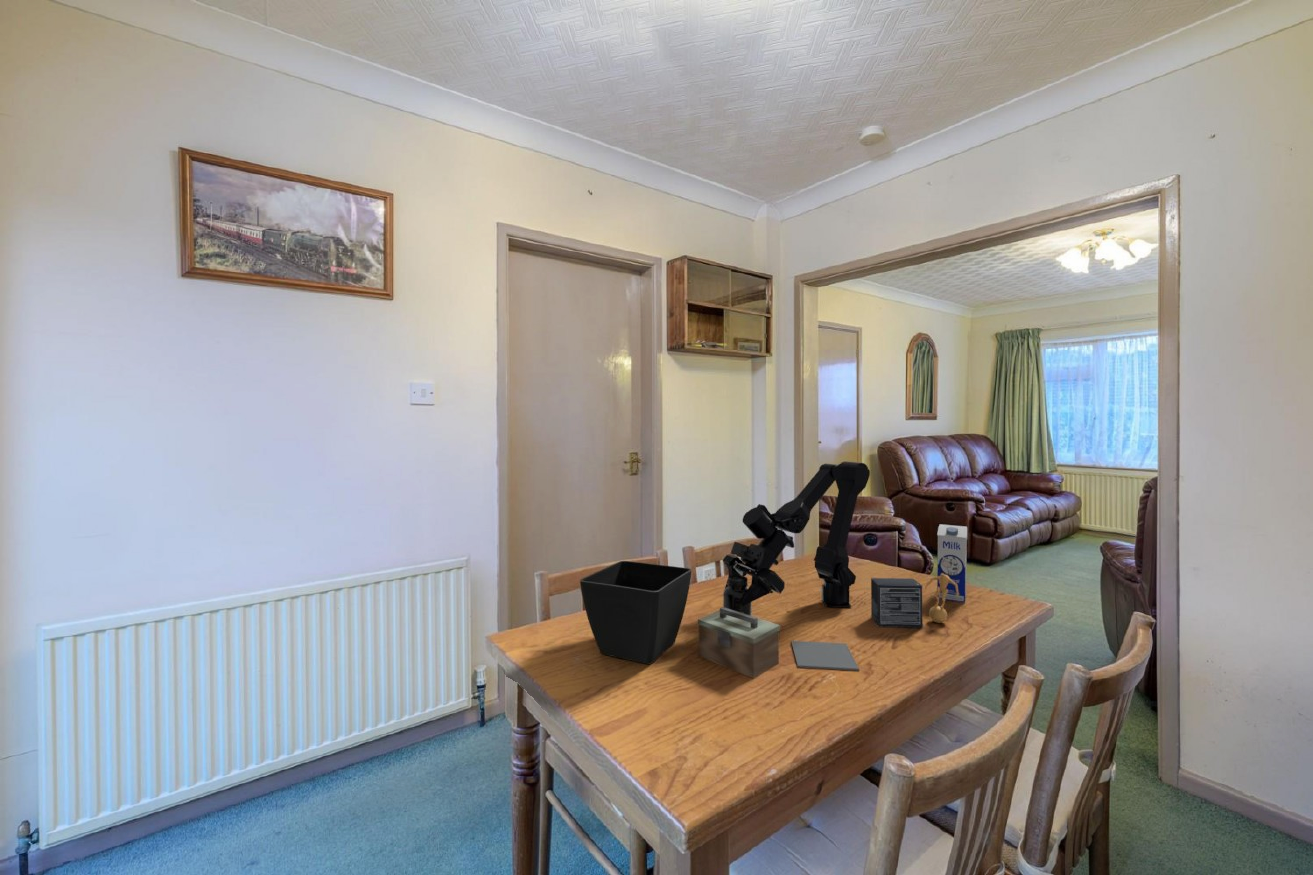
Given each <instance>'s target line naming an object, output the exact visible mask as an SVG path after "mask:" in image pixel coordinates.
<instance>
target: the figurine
mask: <svg viewBox="0 0 1313 875" xmlns="http://www.w3.org/2000/svg"><path fill="white" fill-rule="evenodd" d="M938 579H939V583H940V588H939V587H937V586H936V590H935V592H934V598H935V599H936V603H935V604H934V605H933V606H932V607H930V609H929V611H928V615H929V618H930V619H931V621H932V622H934V623H937V624H942V623H945V622H946V620H947V619H948V612H947V610H946V609H945V608H944V606H945V602H946V600H945V599H944V598H945V597H946V595H947V593H948V589H946V587H947V585H948V583H949V582H950V583H952V584H953V585H955V587H956V592H957V594H956V595H957V596H956V597H957V598H959V593H958V585H957V584H956V583H955V582H953V581H952V580H951V579H950V578H949V576H948V575H945V574H943V573H941V575H940V576H938V577H937V576H935V577H932V578H930V580H929V581H928V582H927V584H925V587H924V590H926V589H927V587H928V586H929V585H930V584H931V583H932V582H933V581H936V580H938ZM940 592H942V593H941V594H942V599H941V600H942V604H941V605H940V606H939V603H940V599H939V597H937V596H938V595H939V594H940Z"/></svg>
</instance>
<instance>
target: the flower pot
mask: <svg viewBox="0 0 1313 875" xmlns="http://www.w3.org/2000/svg"><path fill="white" fill-rule="evenodd" d="M691 578H692V569H691V568H690V567H679V566H673V565H663V564H657V563H646V562H640V561H629V560H621V561H618V562H615V563H613V564H612V565H609V566H606V567H604V568H602V569H600V570H597V571H596V572H593V573H591V574H589V575H587V576H584V577H583V578H581V579H579V584H580V590H581V596H582V600H583V605H584V609H585V613H586V618H587V620H588V624H589V627H590V630H591V633H592V635H593V637H594V640H595V643H596V646H597V648H598V650H599V653H600V654H602V655H606V656H610V657H615V658H619V659H624V660H628V661H634V662H638V663H642V664H643V663H644V664H649V665H650V664H652V663H654V662H655V661H657V659H658V658H660V657H661V655H663V654H664V653H665V652H666V651H668V649H670V647H672V646H673V645H674V644H675V642H676V640H677V637H678V634H679V630H680V627H681V624H682V620H683V617H684V614H685V609H686V605H687V601H688V595H689V591H690V585H691Z"/></svg>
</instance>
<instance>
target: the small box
mask: <svg viewBox="0 0 1313 875" xmlns="http://www.w3.org/2000/svg"><path fill="white" fill-rule="evenodd" d="M870 584H871V585H870V588H871V590H870V591H871V592H870V602H871V605H870V608H871V610H870V611H871V612H870V613H871V615H870V618H871V620H872V621H873V622H874V623H875V624H876V626H877V627H878V628H917V629H922V628H924V624H923V585H922V584H921V583H919V582H918V581H917V580H916V579H914V578H905V577H904V578H900V577H899V578H897V577H895V578H894V577H893V578H892V577H891V578H889V577H888V578H887V577H884V578H883V577H871V578H870Z"/></svg>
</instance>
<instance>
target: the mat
mask: <svg viewBox="0 0 1313 875" xmlns="http://www.w3.org/2000/svg"><path fill="white" fill-rule="evenodd" d="M790 642H791V643H790V644H791V647H792V650H793V655H794V658H795V661H796V662H795V663H796V666H797V668H806V669H819V670H820V669H822V670H824V669H825V670H840V671H860V667H859V665H858V664H857V662H856V660H855V658H854V656H853V654H852V652H851V650H850V649H849V646H848V645H847V643H843V642H824V641H822V642H821V641H806V640H805V641H804V640H790Z"/></svg>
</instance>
